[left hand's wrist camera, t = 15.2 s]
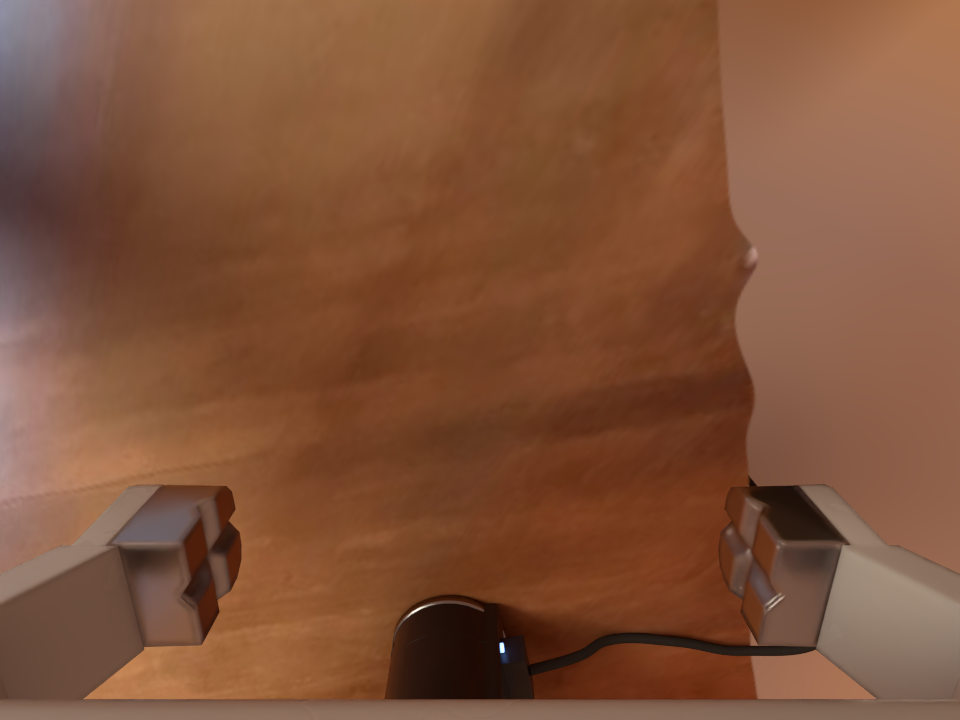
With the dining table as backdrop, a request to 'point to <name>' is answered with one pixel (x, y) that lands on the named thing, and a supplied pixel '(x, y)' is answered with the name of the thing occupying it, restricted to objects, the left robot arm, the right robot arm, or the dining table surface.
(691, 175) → the dining table surface
